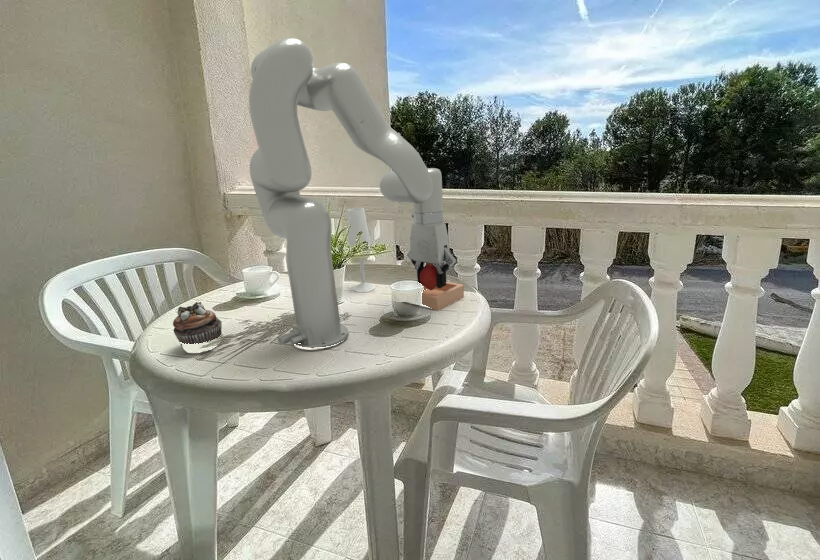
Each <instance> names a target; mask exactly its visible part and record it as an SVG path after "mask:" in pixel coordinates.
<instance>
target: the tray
mask: <svg viewBox="0 0 820 560" xmlns="http://www.w3.org/2000/svg"><path fill="white" fill-rule="evenodd" d="M464 287H465V286H464V284H462V283H457V282H456V283H455V282H451V281H446V286H444V287H442V288H437V287H436V288H435V289H434V290H429V289H428V288H426V287H425V286H424V290H425V291H424V290H423V293H422V304H423V305H426V306H428V307H430V308H432V309H434V310H433V311H436V310H437V311H436V312H438V311H440V310H443V308H446V307H447V306H450V305H451V304H452V303H455V302H456V301H457V302H458V301H459V300H460V299H462V298H465V291H464V290H465V289H464ZM426 289H427V290H426ZM432 309H431V310H432Z"/></svg>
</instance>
